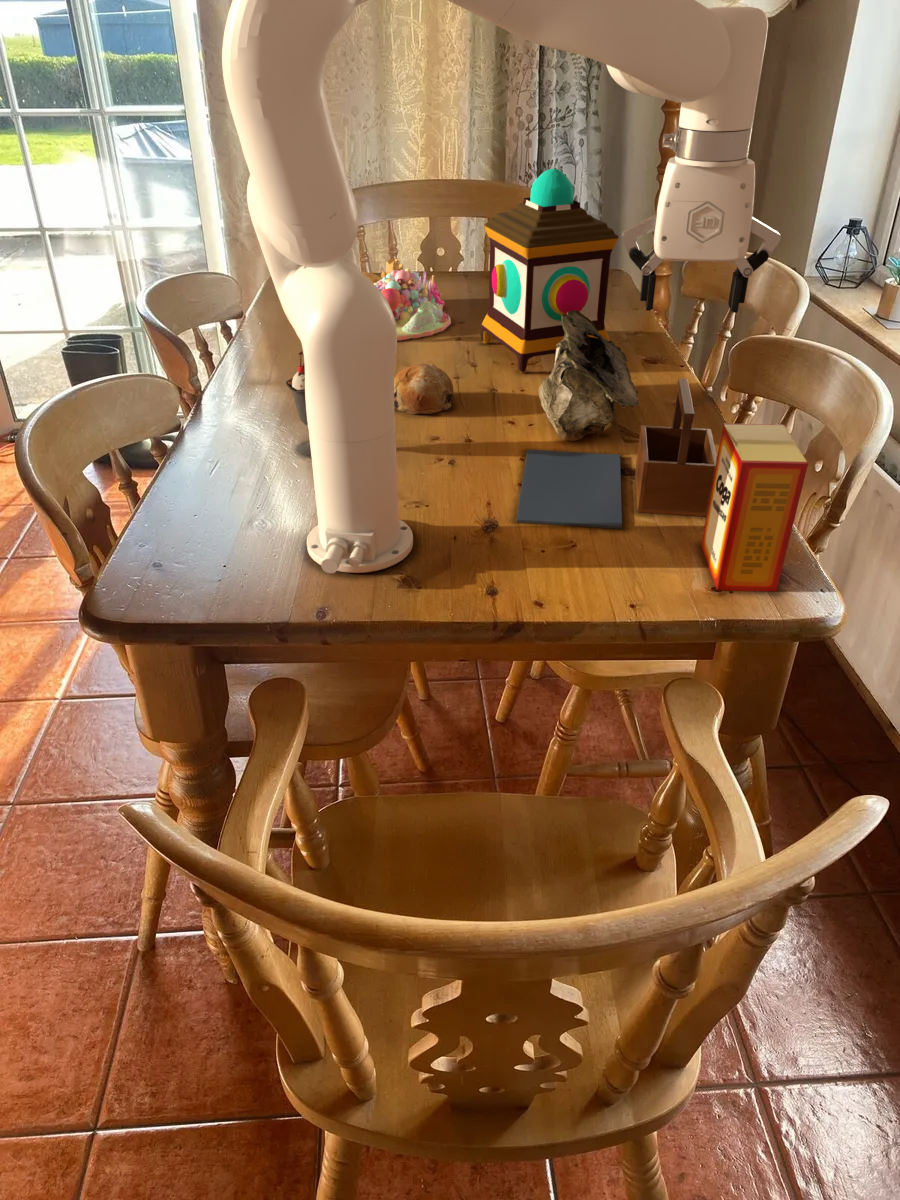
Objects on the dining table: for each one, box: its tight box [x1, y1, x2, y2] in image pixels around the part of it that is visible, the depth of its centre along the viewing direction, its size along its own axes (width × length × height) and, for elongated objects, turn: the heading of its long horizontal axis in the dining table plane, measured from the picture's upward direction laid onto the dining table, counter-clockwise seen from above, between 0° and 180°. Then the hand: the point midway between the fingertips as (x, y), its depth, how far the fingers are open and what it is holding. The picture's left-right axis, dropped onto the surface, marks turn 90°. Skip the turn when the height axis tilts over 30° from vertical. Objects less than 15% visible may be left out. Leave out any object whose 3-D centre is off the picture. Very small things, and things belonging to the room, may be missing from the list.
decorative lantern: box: [480, 168, 620, 374], centre depth 154 cm, size 20×20×30 cm
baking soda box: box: [700, 423, 809, 592], centre depth 100 cm, size 10×6×16 cm
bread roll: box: [394, 363, 454, 416], centre depth 142 cm, size 10×10×8 cm
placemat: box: [515, 449, 623, 530], centre depth 120 cm, size 20×13×1 cm, turn 172°
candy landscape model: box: [361, 258, 452, 341], centre depth 175 cm, size 25×24×9 cm
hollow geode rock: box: [537, 310, 640, 442], centre depth 138 cm, size 28×13×15 cm
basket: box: [634, 378, 718, 517], centre depth 115 cm, size 11×9×14 cm
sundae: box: [285, 350, 311, 457], centre depth 126 cm, size 7×7×15 cm
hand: (690, 308), depth 106 cm, fingers open, 9 cm apart
